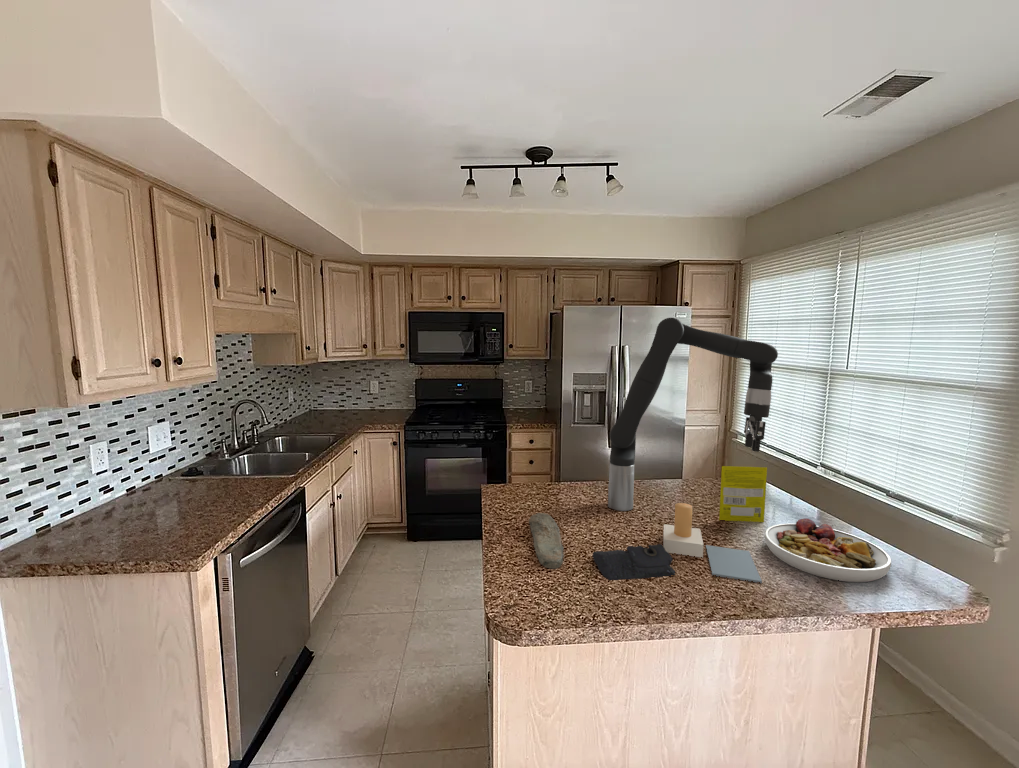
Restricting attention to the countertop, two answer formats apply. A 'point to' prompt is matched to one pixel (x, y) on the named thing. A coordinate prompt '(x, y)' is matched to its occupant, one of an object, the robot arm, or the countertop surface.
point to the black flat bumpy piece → (634, 562)
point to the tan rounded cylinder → (683, 520)
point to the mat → (732, 563)
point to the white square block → (683, 542)
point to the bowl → (827, 552)
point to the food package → (743, 493)
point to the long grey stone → (547, 540)
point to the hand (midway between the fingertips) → (751, 449)
